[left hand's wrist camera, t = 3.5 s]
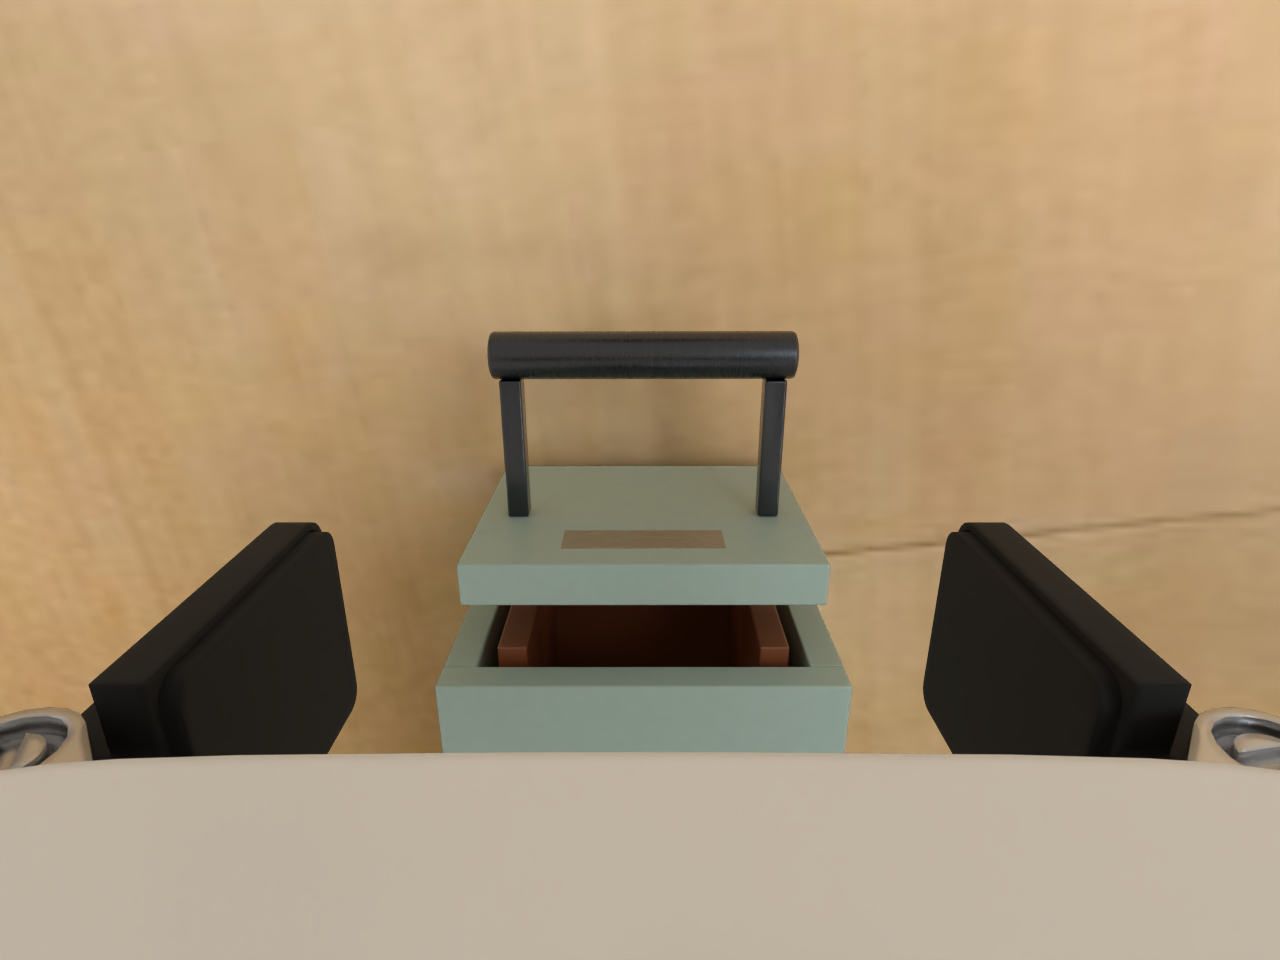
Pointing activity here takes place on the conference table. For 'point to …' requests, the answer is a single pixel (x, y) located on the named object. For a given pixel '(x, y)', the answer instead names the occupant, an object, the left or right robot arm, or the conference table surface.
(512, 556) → the drawer
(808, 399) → the conference table surface
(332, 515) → the conference table surface
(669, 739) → the cabinet
